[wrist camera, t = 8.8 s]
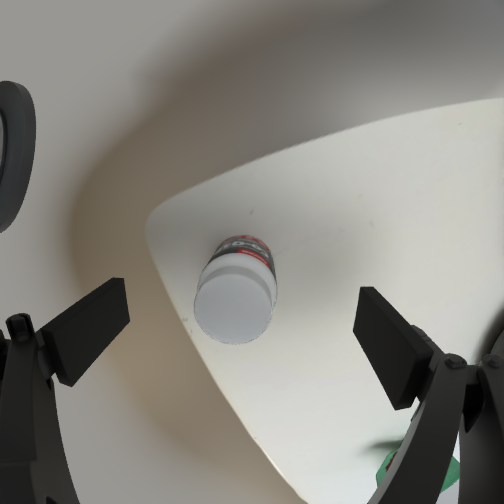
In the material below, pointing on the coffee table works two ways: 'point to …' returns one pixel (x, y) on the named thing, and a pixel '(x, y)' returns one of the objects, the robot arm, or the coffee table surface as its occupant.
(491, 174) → the coffee table surface
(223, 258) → the pill bottle
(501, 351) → the bowl
